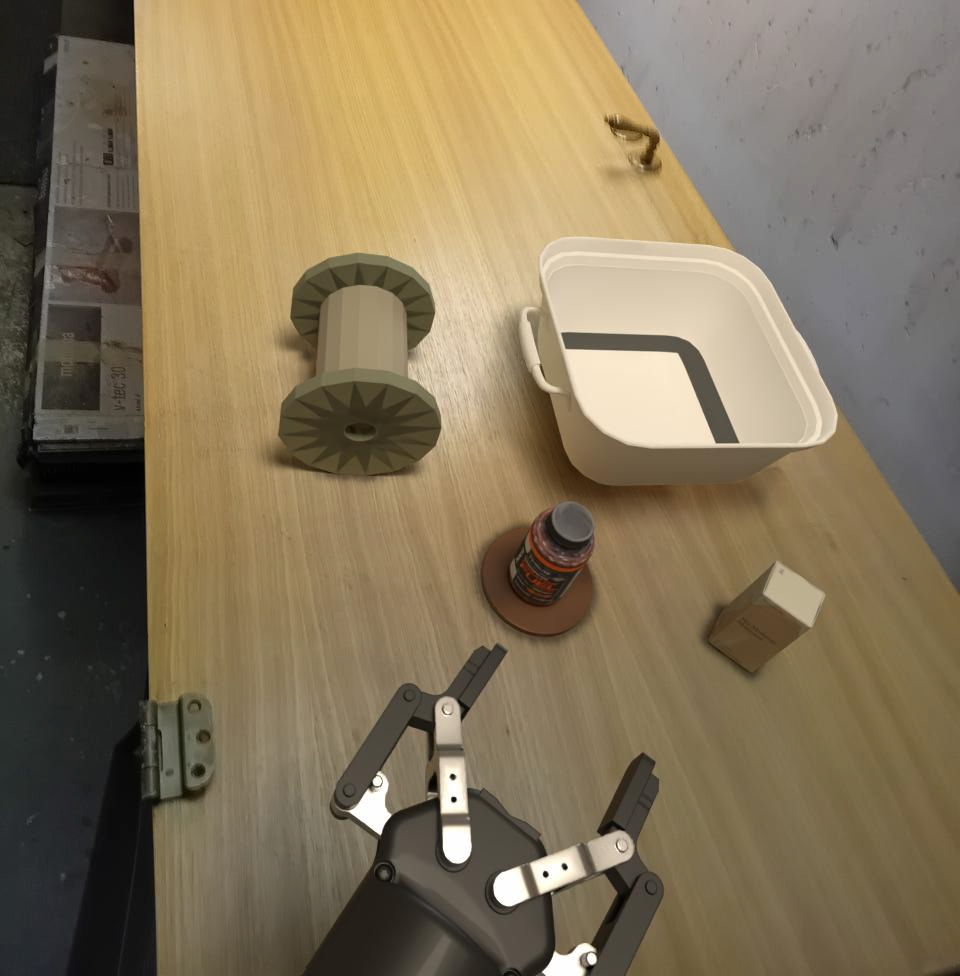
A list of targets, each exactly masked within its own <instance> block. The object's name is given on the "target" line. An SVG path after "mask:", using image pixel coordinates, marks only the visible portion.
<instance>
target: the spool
mask: <svg viewBox="0 0 960 976" xmlns="http://www.w3.org/2000/svg"><path fill="white" fill-rule="evenodd" d="M431 289H432V288H431V286H430V283H429V282H428V281H427V280H426V279H425V278H424V277H423V276H422V275H421V274H420V273H419V272H418V271H417V270H416V269H415V267H413V266H411V265H408V264H406V263H404V262H401V261H400V260H397V259H395V258H393V257H391V256H389V255H382V254H374V253H365V252H353V253H348V254H342V255H337V256H331V257H327V258H326V259H323V260H322V261H321V262H319V263H317V264H315V265H313V266H311V267H309V268H307V269H306V270H305V271H304V272H303V274H302V275H301V277H300V278H299V279H298V280H297V282H296V283H295V285H294V286H293V287H292V293H291V294H292V295H291V305H290V316H289V318H290V321H291V322H292V325H293V327H294V329H295V330H296V333H297V334H298V336H299V337H300V339H302V340H303V341H304V342H306V344H308V345H310V346H311V347H312V348H313V349H315V350H316V359H315V360H316V361H315V374H314V376H313V377H311V378H309V379H307V380H305V381H303V382H301V383H298V384H296V385H295V386H294V388H293V389H292V390H291V391H290V392H289V393H288V395H287V396H286V397H285V398H284V399H283V401H282V402H281V403H280V412H279V413H280V414H279V421H278V423H279V424H278V433H277V436H278V437H279V439H280V441H281V442H282V444H283V445H284V447H285V449H286V450H287V452H288V453H289V454H290V455H292V456H293V457H294V458H296V459H298V460H300V461H301V462H303V463H304V464H306V465H307V466H308V467H312V468H314V469H318V470H322V471H325V472H329V473H332V474H336V475H347V476H349V475H350V476H366V477H367V476H372V475H379V474H385V473H391V472H393V473H394V472H397V471H399V470H401V469H403V468H406V467H409V466H411V465H413V464H416V463H418V462H420V461H421V460H422V459H423V458H424V457H425V456H426V455H427V454H429V453H430V452H431V451H432V450H434V448H435V447H437V443H438V440H439V438H440V434H441V432H442V427H443V426H442V415H441V412H440V409H439V406H438V403H437V400H436V397H435V396H434V395H433V394H432V393H431V392H430V391H428V390H427V389H426V388H425V387H424V386H422V385H421V384H420V383H419V382H418V381H417V380H414V379H411V378H409V360H408V359H409V358H408V355H409V353H408V352H409V351H410V350H413V349H415V348H416V347H417V346H419V344H420V343H421V342H422V341H424V339H425V338H426V337H427V336H428V335H429V334H430V333H431V331H432V327H433V323H434V320H435V316H436V302H435V299H434V296H433V292H432V290H431Z"/></svg>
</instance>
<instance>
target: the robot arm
mask: <svg viewBox="0 0 960 976" xmlns="http://www.w3.org/2000/svg"><path fill="white" fill-rule="evenodd" d="M508 652H509V649H507V648H506V647H505V646H503V645H502V644H500V642H496V643H495V644H494V646H493V648H492V649H491V650H490V649H488V648H487V647H486V646H485V645H481V646H479V647H477V648H476V649H474V650H473V651H472V653H471V654H470V655H469V657H468V659H467V661H466V662H465V663H464V664H463V666H462V668H461V669H460V671H459V672H458V674H457V675H456V676H455V678H454V679H453V681H452V682H451V683H450V685H449V686H448V688H447V689H446V690H445V691H444V692H442V693H440V694H432V693H428V692H425V691H423V690H421V689H420V687H419V686H418V685H416V684H415V683H412V682H407V683H406V682H405V683H403V684H401V685H400V686H399V687H398V689H397V690H396V692H395V693H394V695H393V696H392V698H391V700H390V701H389V703H388V704H387V706H386V707H385V709H384V710H383V711H382V714H381V715H380V717H379V718H378V720H376V723H374V726H373V727H372V729H371V731H370V732H369V734H368V735H367V737H366V738H365V739H364V741H363V742H362V744H361V746H360V747H359V749H358V750H357V752H356V754H355V755H354V757H353V758H352V760H351V762H350V763H349V764H348V766H347V767H346V769H345V770H344V772H343V774H342V775H341V777H339V780H338V781H337V783H336V784H335V788H334V790H333V793H332V795H331V797H330V801H329V811H330V813H331V815H332V817H333V818H334V819H336V820H339V821H346V820H350V821H351V822H352V823H354V824H355V825H356V826H358V827H359V828H360V829H362V830H363V831H365V833H367V834H369V835H370V837H373V838H374V839H376V841H377V842H376V843H377V844H376V851H375V855H374V859H373V862H372V864H371V866H370V867H369V869H368V870H367V872H366V874H365V875H364V877H363V878H362V880H361V881H360V883H359V885H358V886H357V887H356V889H355V890H354V892H353V893H352V895H351V897H350V898H349V899H348V901H347V903H346V904H345V906H344V907H343V908H342V910H341V912H340V913H339V915H338V917H337V918H336V919H335V921H334V923H333V924H332V926H331V927H330V929H329V930H328V932H327V933H326V935H325V936H324V938H323V939H322V940H321V942H320V944H319V945H318V947H317V949H316V950H315V952H314V953H313V955H312V956H311V958H310V959H309V961H308V962H307V964H306V965H305V967H304V970H303V971H302V973H301V974H300V975H299V976H626V975H627V973H628V971H629V969H630V967H631V965H632V963H633V961H634V959H635V957H636V955H637V952H638V951H639V948H640V947H641V944H642V942H643V940H644V938H645V935H646V934H647V931H648V929H649V928H650V926H651V924H652V921H653V919H654V917H655V914H656V912H657V911H658V908H659V906H660V904H661V902H662V900H663V898H664V894H665V887H664V884H663V880H662V879H661V878H660V876H659V875H657V873H655V872H653V871H649V869H648V868H647V866H646V865H645V863H644V862H643V860H642V859H641V857H640V854H639V851H638V844H637V843H638V839H639V836H640V834H641V831H642V830H643V828H644V825H645V823H646V820H647V819H648V816H649V814H650V811H651V809H652V807H653V805H654V802H655V800H656V798H657V796H658V794H659V792H660V791H659V790H660V789H659V788H660V778H659V777H657V775H654V774H653V771H654V769H655V767H656V763H657V761H656V760H654V759H653V758H652V757H651V756H649V755H648V754H647V753H645V752H644V751H643V752H640V753H639V754H638V755H637V756H636V757H635V758H633V759H632V761H630V763H629V764H628V766H627V768H626V769H625V771H624V774H623V775H622V778H621V779H620V782H619V784H618V786H617V788H616V790H615V792H614V794H613V797H612V799H611V801H610V803H609V805H608V807H607V809H606V811H605V813H604V815H603V817H602V819H601V822H600V823H599V825H598V828H597V829H596V833H597V834H599V836H598V837H597V838H596V837H595V838H593V839H591V840H588V841H586V842H581V843H577V844H575V845H572V846H570V847H566V848H564V849H561V850H558V851H556V852H554V853H551V854H548V852H547V849H546V847H545V845H544V843H543V842H542V840H541V838H540V837H541V835H542V833H541V832H540V831H538V830H537V829H536V828H535V827H534V826H532V825H531V824H530V823H529V822H527V821H525V820H522V819H520V818H518V817H515V816H513V815H511V814H510V813H509V812H508V811H507V809H506V808H505V807H504V805H503V804H502V803H501V801H500V800H499V799H498V798H497V797H496V796H494V794H492V793H490V792H489V790H487V789H486V788H485V787H482V789H481V790H480V789H477V788H474V787H473V788H472V787H468V780H467V764H466V763H467V762H466V760H467V759H466V751H465V749H464V748H463V734H462V723H463V721H464V719H465V718H466V716H467V715H468V713H469V712H470V710H471V708H472V707H473V705H474V704H475V703H476V701H477V699H478V698H479V696H481V694H482V692H483V690H484V689H485V688H486V686H487V684H488V683H489V681H490V680H491V678H492V677H493V675H494V674H495V672H496V671H497V669H498V667H499V666H500V664H501V663H502V662H503V660H504V658H505V657H506V655H507V654H508ZM408 727H410V728H414V729H416V730H419V731H423V732H425V754H426V765H425V769H424V770H425V771H424V787H425V789H424V791H425V792H424V793H425V796H424V797H425V801H422V802H418V803H416V804H414V805H411V806H408V807H405V808H402V809H399V810H398V811H395V812H394V813H392V814H391V813H390V811H389V810H388V809H387V806H386V796H387V794H388V791H389V787H390V785H389V779H388V778H387V776H386V774H384V773H383V772H381V771H382V769H383V768H384V766H385V764H386V762H387V761H388V759H389V758H390V756H391V755H392V753H393V751H394V750H395V749H396V746H397V745H398V743H399V742H400V740H401V739H402V736H404V734H405V732H406V730H407V728H408ZM603 875H604V876H605V877H606V879H607V880H608V881H609V883H610V885H611V886H612V887H613V889H614V890H615V892H616V895H615V897H614V898H613V900H612V903H611V904H610V907H609V908H608V910H607V911H606V914H605V916H604V918H603V920H602V922H601V924H600V926H599V927H598V929H597V931H596V934H595V935H594V938H593V939H592V941H591V943H587V942H583V943H579V944H577V945H575V946H572V947H571V948H570V949H568V952H566V954H560V953H558V952H557V951H556V942H557V941H556V929H555V918H554V907H553V896H556V895H558V894H561V893H562V892H565V891H568V890H570V889H571V888H574V887H576V886H578V885H581V884H583V883H586V882H588V881H590V880H593V879H596V878H598V877H600V876H603Z"/></svg>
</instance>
